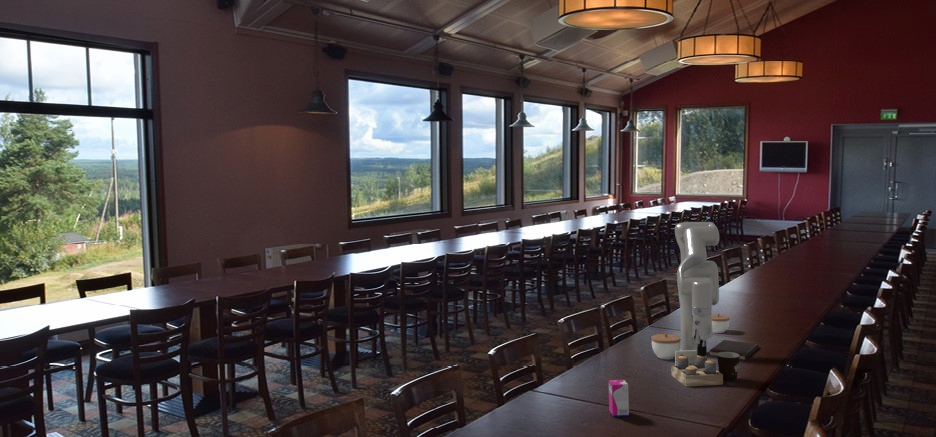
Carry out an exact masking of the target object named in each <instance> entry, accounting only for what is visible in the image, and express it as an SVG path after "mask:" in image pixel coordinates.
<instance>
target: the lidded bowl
mask: <svg viewBox="0 0 936 437" xmlns="http://www.w3.org/2000/svg"><path fill="white" fill-rule="evenodd" d="M650 339H651V347H652V351H653V353H654V354H655V355H656V356H657V358H658V359H660V360H675V351H679V349H680V347H681V336H678V335H675V334H670V333H668V332H664V333H659V334H657V333H656V334H654V335H652V336H651V338H650Z"/></svg>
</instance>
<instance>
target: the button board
mask: <svg viewBox="0 0 936 437" xmlns="http://www.w3.org/2000/svg"><path fill="white" fill-rule="evenodd" d="M670 367H671V368H670V369H671V370H670V371H671V372H670V374H671V376H672V377H673V378H674V379H676V381H678V382H680V383H681V385H684V386H685V387H699V386H701V387H703V386H718V385H719V386H720V385H723V384H724V381H723V374H721V373H720V372H719V370H717V369H716V374H709V375H707V374H705V368H703V369H698V368H697V367H696V364H691V365H688V367H694V368H696V375H691V376H687V375H686V374H685V369H684V370H679V369H678V368H677V365H675V364H674V365H671V366H670Z"/></svg>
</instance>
